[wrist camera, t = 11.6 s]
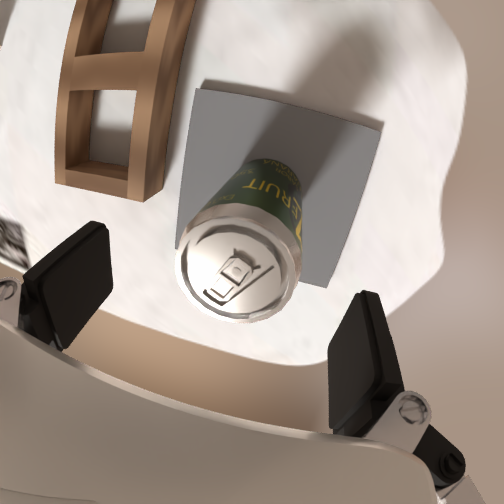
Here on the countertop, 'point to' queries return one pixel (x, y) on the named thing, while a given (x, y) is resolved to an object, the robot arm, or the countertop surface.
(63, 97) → the can holder
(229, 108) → the rubber mat
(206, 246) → the beer can
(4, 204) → the countertop surface
